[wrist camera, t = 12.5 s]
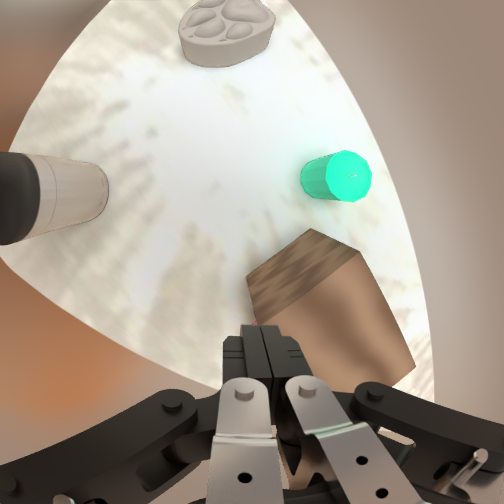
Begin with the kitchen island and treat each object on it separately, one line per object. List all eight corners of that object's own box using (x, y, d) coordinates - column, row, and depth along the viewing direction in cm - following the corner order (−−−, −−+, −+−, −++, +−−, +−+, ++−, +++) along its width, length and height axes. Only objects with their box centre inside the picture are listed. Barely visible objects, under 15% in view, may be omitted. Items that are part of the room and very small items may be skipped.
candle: (345, 182, 39) (387, 181, 27) (317, 207, 39) (352, 214, 28) (321, 151, 38) (357, 138, 26) (292, 175, 38) (319, 169, 26)
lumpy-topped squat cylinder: (276, 47, 33) (287, 19, 25) (203, 81, 34) (197, 55, 25) (242, 8, 31) (246, -22, 22) (172, 39, 31) (162, 11, 23)
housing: (313, 358, 45) (344, 419, 30) (246, 276, 41) (258, 327, 25) (367, 318, 44) (416, 366, 29) (310, 228, 40) (359, 251, 24)
